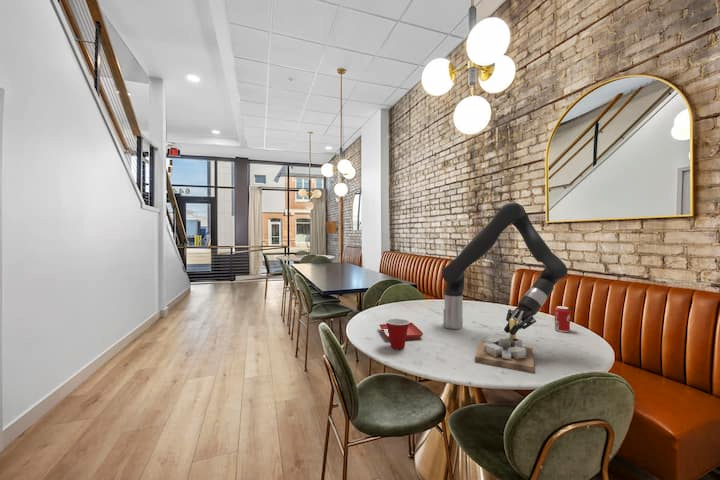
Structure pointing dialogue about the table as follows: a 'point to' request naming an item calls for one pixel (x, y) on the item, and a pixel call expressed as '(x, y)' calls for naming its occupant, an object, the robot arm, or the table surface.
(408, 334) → the plant saucer
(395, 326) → the plastic cup
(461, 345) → the table surface
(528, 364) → the walnut base
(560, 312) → the beverage can
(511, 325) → the brass pin
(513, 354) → the ring nut
